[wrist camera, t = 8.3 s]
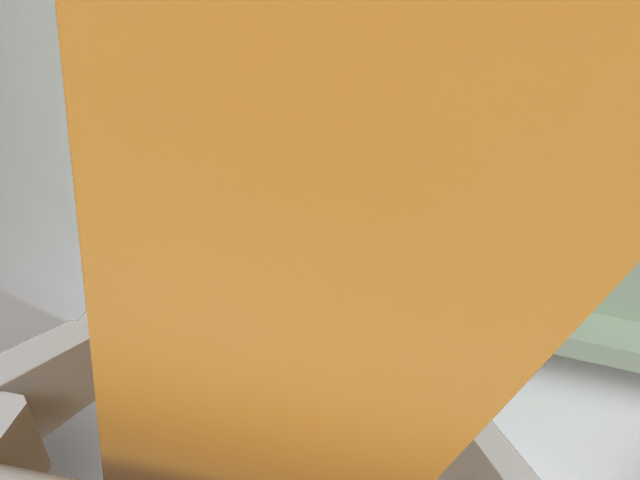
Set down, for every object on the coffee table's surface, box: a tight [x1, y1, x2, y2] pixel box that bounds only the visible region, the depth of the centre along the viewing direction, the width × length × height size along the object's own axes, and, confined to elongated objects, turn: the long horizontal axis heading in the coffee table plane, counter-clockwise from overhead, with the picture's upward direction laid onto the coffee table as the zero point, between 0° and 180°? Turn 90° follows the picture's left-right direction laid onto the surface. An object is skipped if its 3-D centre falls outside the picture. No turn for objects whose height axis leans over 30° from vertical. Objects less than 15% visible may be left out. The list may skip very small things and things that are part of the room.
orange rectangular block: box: [55, 0, 640, 480], centre depth 8 cm, size 5×13×6 cm, turn 165°
